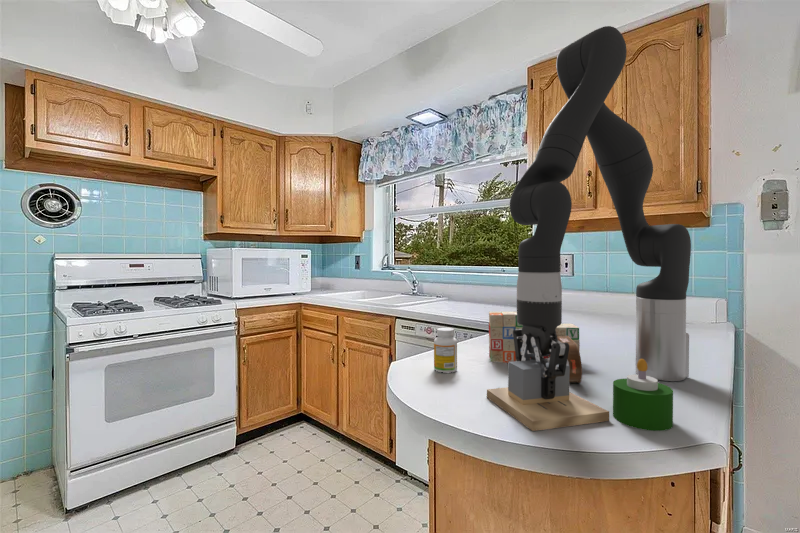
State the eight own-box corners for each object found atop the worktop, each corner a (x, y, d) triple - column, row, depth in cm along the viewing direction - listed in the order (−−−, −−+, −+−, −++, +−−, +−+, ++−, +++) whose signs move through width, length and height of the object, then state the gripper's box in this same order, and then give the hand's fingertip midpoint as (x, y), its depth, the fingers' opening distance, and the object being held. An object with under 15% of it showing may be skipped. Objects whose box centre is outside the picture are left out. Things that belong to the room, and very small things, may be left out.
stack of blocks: (572, 359, 102) (573, 311, 102) (579, 365, 96) (580, 315, 96) (488, 356, 106) (488, 310, 105) (490, 362, 99) (490, 314, 99)
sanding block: (508, 394, 71) (508, 361, 71) (551, 390, 73) (552, 358, 73) (523, 404, 66) (523, 369, 66) (569, 399, 69) (569, 365, 68)
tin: (583, 388, 79) (583, 346, 79) (566, 387, 80) (566, 346, 80) (567, 367, 94) (567, 332, 94) (553, 367, 95) (553, 332, 94)
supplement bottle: (441, 365, 96) (441, 326, 96) (461, 369, 93) (461, 328, 93) (429, 371, 92) (429, 329, 92) (450, 374, 89) (450, 332, 89)
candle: (686, 428, 61) (686, 363, 60) (640, 433, 59) (641, 367, 59) (642, 408, 69) (643, 351, 69) (601, 412, 67) (601, 354, 67)
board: (551, 390, 78) (551, 382, 78) (609, 420, 63) (609, 411, 63) (486, 397, 74) (486, 389, 74) (532, 431, 60) (532, 421, 60)
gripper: (585, 301, 63) (584, 405, 64) (534, 293, 77) (534, 378, 78) (544, 303, 62) (543, 410, 62) (499, 294, 76) (499, 381, 76)
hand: (538, 392), depth 70 cm, fingers closed on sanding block, 5 cm apart
